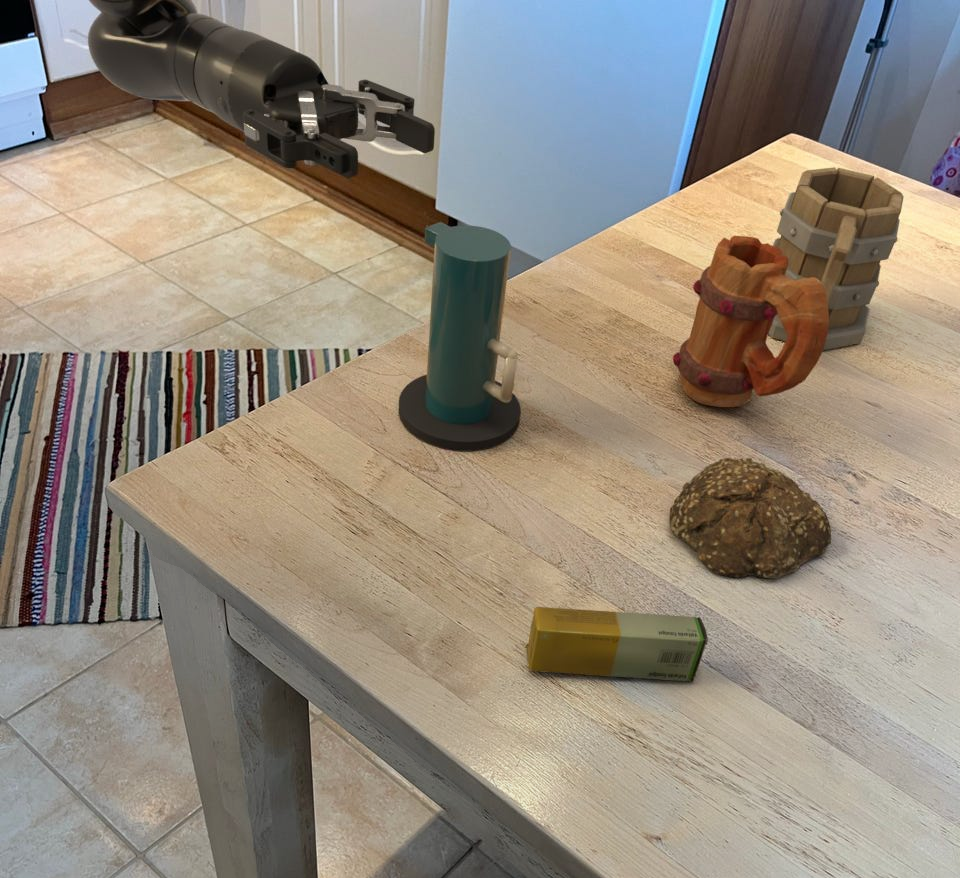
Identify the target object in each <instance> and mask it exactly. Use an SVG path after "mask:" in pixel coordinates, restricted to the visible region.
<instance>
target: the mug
mask: <svg viewBox="0 0 960 878" xmlns="http://www.w3.org/2000/svg"><path fill="white" fill-rule="evenodd" d="M787 267H788V258H787V257H786V256H785V255H782V251H781V250H780V249H779V248H778V247H776V246H773V244H770V243H768V242H767V243H762V242H761V241H760V239H759V238H757V237H753V236H747V235H746V236H744V235H733V236H731V237H730V239H728V238H726V237H723V238H722V239H721V240H720V241H719V242H718V243H717V245H716V247H715V251H714V253H713V256H712V260H711V263H710V265H709V266H707V267H706V268H705V269H704V270H703V272H702V273H701V276H700V279H697V280H696V281H695V282H694V283H693V285H692V289H693V292H694V293H695V294H696V295H698V296H699V299H698V302H697V305H696V310H695V315H694V319H693V324H692V327H691V331H690V334H689V337H688V338H687V339H686V340H684V341H683V342H682V344H681V345H680V348H679V351H678V352H676V353H674V354H673V356H672V362H673V365H674V366H676V368H677V370H678V372H679V376H678V377H679V380H678V381H679V384H680V385H681V388H682V390H683V391H684V393H685V394H686V396H687V397H689V398H691V399H692V400H693V401H694V402H697V403H700V404H701V405H706V406H709V407H716V408H722V407H723V408H733V407H740V406H743V405H745V404H747V403H748V402H749V401H750V400H751V398H752V396H753V392H754V393H755V394H756V396H758V397H760V398H761V397H767V396H773V395H777V394H781V393H784V392H786V391H789V390H792V389H794V388H795V387H796V386H798V385H799V384H801V383H803V382H804V381H806V380H807V378H808V377H809V375H810V374H811V372H812V371H813V369H814V368H815V367H816V366H817V364H818V361H819V359H820V357H821V355H822V353H823V351H824V350H823V349H824V346H825V341H826V337H827V334H828V324H829V313H828V303H827V296H826V290H825V288H824V286H823V284H822V283H821V282H820V281H819V280H818V279H817V278H815V277H811V278H803V279H800V280H795V281H794V280H792V279H790V278H788V277H786V276H785V274H786V270H787ZM777 314H778V315H779V318H780V320H781V323H782V325H783V327H784V329H785V331H786V334H787V340H786V342H785V341H784V344H783V346H782V347H781V350H780V352H779V353H778V355H777V356H776V357H775V356H774V354H773V353H772V351H771V350H770V348H769V346H768V345H767V344H766V343H767V339H768V336H769V334H768V333H769V331H770V328H771V326H772V323H773V320H774V317H775V316H776V315H777Z"/></svg>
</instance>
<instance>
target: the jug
mask: <svg viewBox="0 0 960 878" xmlns="http://www.w3.org/2000/svg"><path fill="white" fill-rule="evenodd" d="M424 242H425V243H426V244H427V245H430V246H432V247H434V248H433V249H434V251H433V252H434V253H433V266H432V267H433V268H432V281H431V282H432V284H431V297H430V301H431V302H430V315H429V317H430V318H429V332H428V349H427V350H428V351H427V362H426V363H427V365H426V375H427V379H426V395H425V405H426V408H427V410H428V411H429V412H430V413H431V414H432V415H433V416H434V417H436V418H438V419H440V420H442V421H445V422H449V423H453V424H471V423H476V422H479V421H481V420H483V419H484V418H486V417H487V416H488V415H489V414H490V412H491V409H492V401H493V397H495V398H497V399H499V400H500V401H502V402H504V403H508V402H510V401H511V399H512V393H513V392H514V385H515V379H516V376H515V375H516V370H517V362H518V358H519V357H518V351H517V350H516V349H515V348H512V347H510V346H508V345H507V344H505V343H504V342H502V341H501V333H502V325H503V317H504V309H505V301H506V294H507V293H506V291H507V283H508V276H509V269H510V258H511V250H512V247H511V246H512V244H511V242H510V240H509V239H508V238H507V237H506V236H505V235H504V234H502V233H500V232H498V231H496V230H494V229H491V228H487V227H483V226H479V225H478V226H477V225H468V224H467V225H465V224H464V225H455V226H450V225H447V224H445V223H443V222H442V221H439V222H437V223H434V224H431V225H429V226H426V227H425V230H424ZM499 357H501V358H502V359H504V363H503V371H502V377H501V384H502V386H501V387H500V386H498V385H497V384H495V380H496V376H497V375H496V374H497V369H498V368H497V366H498V359H499ZM513 394H514V393H513Z"/></svg>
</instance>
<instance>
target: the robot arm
mask: <svg viewBox="0 0 960 878" xmlns="http://www.w3.org/2000/svg"><path fill="white" fill-rule="evenodd" d="M88 1H89V2H90V4H91V5H92V6H93V7H94V8H95V9H96V10H98V11H99V12H100V13H99V14H98V15H97V17H95V19H94V20H93V21H92V24H91V25H90V27H89V30H88V35H87V45H88V51H89V54H90V57H91V59H92V61H93V64H94V65H95V67H96V68H97V69H98V71H99V72H100V73H101V75H102V76H104V78H105V79H106V80H108V81H109V82H111V84H112V85H114V86H116V87H117V88H119V89H120V90H122V91H124V92H126V93H128V94H131V95H133V96H135V97H139V98H142V99H149V100H158V101H160V100H161V101H175V102H191V103H192V104H195V105H196V106H198V107H200V108H202V109H204V110H206V111H208V112H211V113H212V114H214V115H216V116H217V117H218V118H219V119H220V120H222V121H223V122H225V123H227V124H228V125H230V126H231V127H234V128H235V129H237V130H239V131H241V132H243V133H244V143H245V144H244V145H245V146H246V147H249V148H250V149H251V150H253V151H255V152H257V153H258V154H260V155H262V156H263V157H266V158H267V159H269V160H271V161H272V162H274V163H276V164H278V165H279V166H281V167H283V168H286V169H295V168H297V167H298V162H299V161H300V162H301V161H304V164H305V165H307V166H311V167H314V166H321V167H324V168H326V169H327V170H330V171H331V172H333V173H336V174H338V175H340V176H342V177H344V178H345V179H351V178H354V177H357V176H358V174H359V152H358V149H357V148H356V147H355V146H353V145H351V144H349V143H347V142H345V141H344V140H342V139H346V140H352V141H359V142H368V143H369V142H370V143H372V142H373V141H374V140H375V139H376V138H377V137H378V138H385V139H393V140H395V141H397V142H399V143H400V144H403V145H405V146H407V147H409V148H412V149H414V150H416V151H418V152H420V153H422V154H428V153H430V152H432V151H434V148H435V135H436V134H435V133H436V128H435V126H434V124H433V123H432V122H429V121H427V120H425V119H423V118H420V117H419V116H416V115H415V111H414V110H415V98H414V97H412V96H409V95H406V94H404V93H401V92H399V91H396V90H394V89H391V88H389V87H387V86H384V85H381V84H380V83H377V82H374V81H371V80H368V79H361V80H359V81H358V90H350V89H345V88H344V87H343V86H341V85H337V84H329V82H328V80H327V78H326V77H325V75H324V73H323V72H322V69H321V68H320V67H319V64H317V63H316V62H315V60H313V59H312V58H311V57H310V56H307V55H305V54H304V53H301V52H299V51H297V50H294V49H292V48H289V47H288V46H285V45H283V44H281V43H279V42H276V41H273V40H272V39H269V38H267V37H265V36H263V35H260V34H258V33H255V32H253V31H249V30H245V29H239V28H236V27H234V26H232V25H230V24H227V23H225V22H222V21H220V20H218V19H216V18H214V17H212V16H210V15H207V14H202V13H198V9H197V7H196V6H195V3H194V2H193V0H88ZM359 114H360V115H362V116H364V119H365V128H359ZM378 122H379V123H381V124H383V125H379V124H378ZM384 125H386V126H384Z"/></svg>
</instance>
